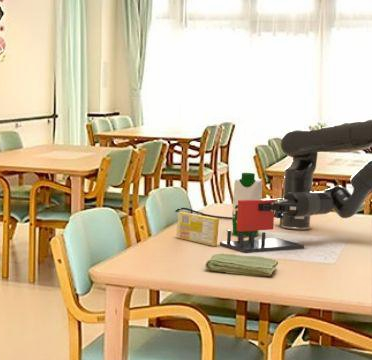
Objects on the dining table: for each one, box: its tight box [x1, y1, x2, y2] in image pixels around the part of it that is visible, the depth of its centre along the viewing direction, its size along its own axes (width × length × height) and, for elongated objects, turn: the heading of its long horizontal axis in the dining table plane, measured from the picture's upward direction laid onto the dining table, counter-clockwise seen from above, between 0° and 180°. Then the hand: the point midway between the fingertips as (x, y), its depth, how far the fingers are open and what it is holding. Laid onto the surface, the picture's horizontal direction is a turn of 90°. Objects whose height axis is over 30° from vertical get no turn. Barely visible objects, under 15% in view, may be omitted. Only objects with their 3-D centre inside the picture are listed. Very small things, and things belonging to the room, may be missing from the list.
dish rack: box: [219, 229, 305, 254], centre depth 277 cm, size 12×22×5 cm, turn 116°
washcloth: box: [204, 253, 279, 277], centre depth 243 cm, size 13×18×3 cm
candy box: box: [176, 211, 220, 247], centre depth 283 cm, size 16×2×8 cm, turn 35°
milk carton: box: [231, 172, 263, 237], centre depth 297 cm, size 9×9×20 cm
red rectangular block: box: [237, 198, 275, 232], centre depth 275 cm, size 2×12×9 cm, turn 116°
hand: (256, 206), depth 275 cm, fingers closed on red rectangular block, 2 cm apart
